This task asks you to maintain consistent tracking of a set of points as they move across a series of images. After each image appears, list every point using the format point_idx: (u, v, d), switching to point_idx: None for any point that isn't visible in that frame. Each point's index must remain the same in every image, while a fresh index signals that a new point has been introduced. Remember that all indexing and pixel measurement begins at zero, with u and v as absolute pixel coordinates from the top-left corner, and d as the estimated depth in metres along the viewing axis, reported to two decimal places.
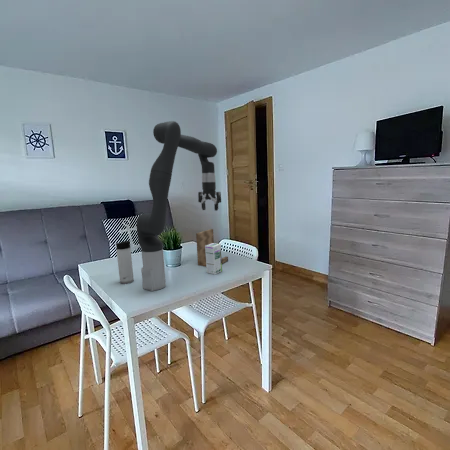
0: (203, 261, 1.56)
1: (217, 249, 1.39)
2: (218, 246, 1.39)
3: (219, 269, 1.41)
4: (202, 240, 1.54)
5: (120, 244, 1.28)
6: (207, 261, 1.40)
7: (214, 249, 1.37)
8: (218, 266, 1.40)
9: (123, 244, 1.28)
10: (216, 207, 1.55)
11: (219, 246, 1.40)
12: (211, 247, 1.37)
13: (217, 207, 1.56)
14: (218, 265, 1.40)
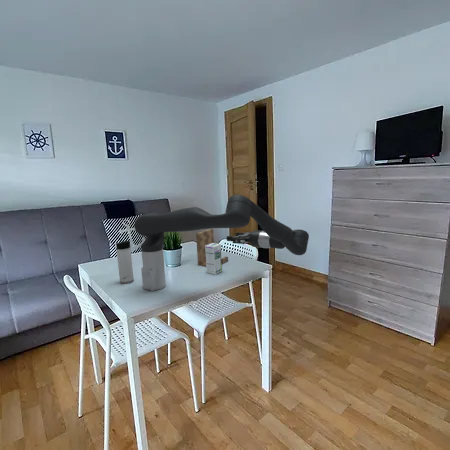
0: (203, 261, 1.56)
1: (217, 249, 1.39)
2: (218, 246, 1.39)
3: (219, 269, 1.41)
4: (202, 240, 1.54)
5: (120, 244, 1.28)
6: (207, 261, 1.40)
7: (214, 249, 1.37)
8: (218, 266, 1.40)
9: (123, 244, 1.28)
10: (229, 237, 1.28)
11: (219, 246, 1.40)
12: (211, 247, 1.37)
13: (229, 239, 1.28)
14: (218, 265, 1.40)
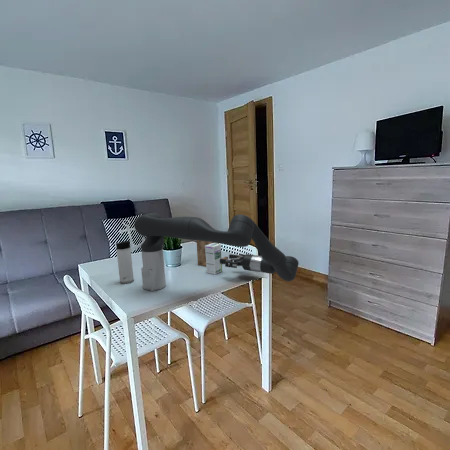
0: (203, 261, 1.56)
1: (217, 249, 1.39)
2: (218, 246, 1.39)
3: (219, 269, 1.41)
4: None
5: (120, 244, 1.28)
6: (207, 261, 1.40)
7: (214, 249, 1.37)
8: (218, 266, 1.40)
9: (123, 244, 1.28)
10: (222, 260, 1.32)
11: (219, 246, 1.40)
12: (211, 247, 1.37)
13: (222, 262, 1.32)
14: (218, 265, 1.40)
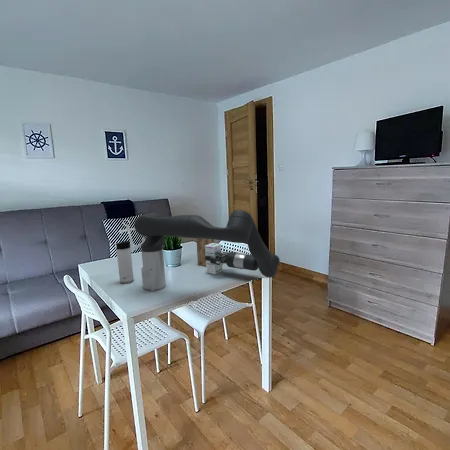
0: (203, 261, 1.56)
1: (217, 249, 1.39)
2: (218, 246, 1.39)
3: (219, 268, 1.41)
4: (202, 240, 1.54)
5: (120, 244, 1.28)
6: (207, 261, 1.40)
7: (214, 249, 1.37)
8: (218, 266, 1.40)
9: (123, 244, 1.28)
10: (207, 257, 1.38)
11: (219, 246, 1.40)
12: (211, 247, 1.37)
13: (207, 259, 1.38)
14: (218, 265, 1.40)
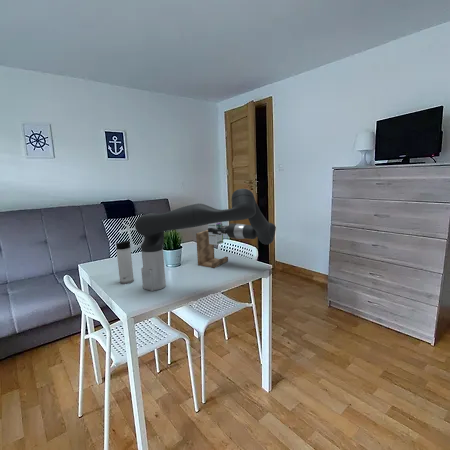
0: (203, 261, 1.56)
1: (218, 222, 1.50)
2: None
3: (220, 240, 1.52)
4: (202, 240, 1.54)
5: (120, 244, 1.28)
6: (209, 233, 1.52)
7: None
8: (220, 238, 1.52)
9: (123, 244, 1.28)
10: (210, 229, 1.49)
11: None
12: None
13: (209, 230, 1.50)
14: (219, 236, 1.51)
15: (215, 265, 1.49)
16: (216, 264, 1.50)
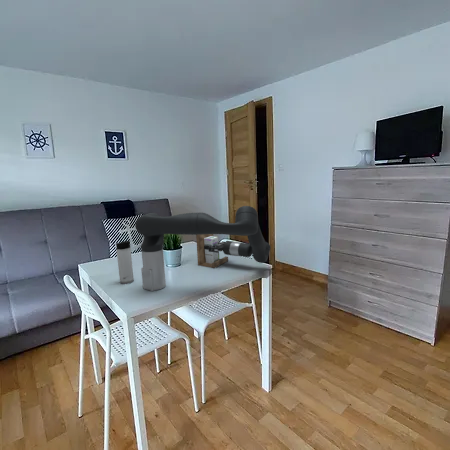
0: (203, 261, 1.56)
1: (215, 241, 1.53)
2: (216, 238, 1.54)
3: (217, 259, 1.55)
4: (202, 240, 1.54)
5: (120, 244, 1.28)
6: (206, 252, 1.55)
7: (212, 241, 1.52)
8: (216, 257, 1.55)
9: (123, 244, 1.28)
10: (206, 246, 1.52)
11: (217, 238, 1.55)
12: (209, 239, 1.52)
13: (206, 248, 1.52)
14: (216, 256, 1.55)
15: (215, 265, 1.49)
16: (216, 264, 1.50)
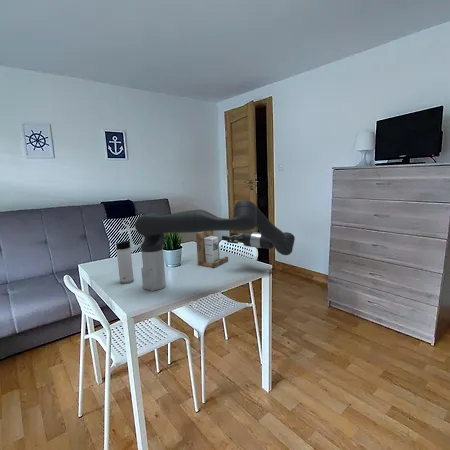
0: (203, 261, 1.56)
1: (215, 241, 1.53)
2: (216, 238, 1.54)
3: (217, 259, 1.55)
4: (202, 240, 1.54)
5: (120, 244, 1.28)
6: (206, 252, 1.55)
7: (212, 241, 1.52)
8: (216, 257, 1.55)
9: (123, 244, 1.28)
10: (224, 237, 1.43)
11: (217, 238, 1.55)
12: (210, 239, 1.52)
13: (224, 238, 1.43)
14: (216, 256, 1.55)
15: (215, 265, 1.49)
16: (216, 264, 1.50)
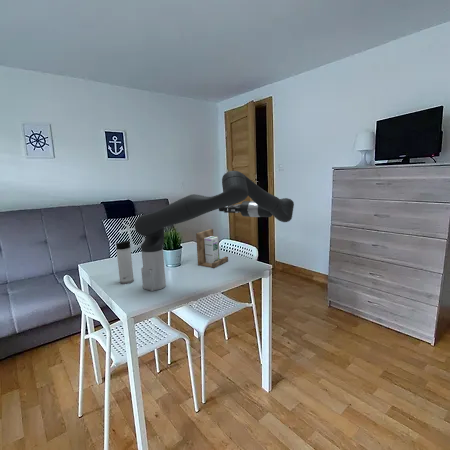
0: (203, 261, 1.56)
1: (215, 241, 1.53)
2: (216, 238, 1.54)
3: (217, 259, 1.55)
4: (202, 240, 1.54)
5: (120, 244, 1.28)
6: (206, 252, 1.55)
7: (212, 241, 1.52)
8: (216, 257, 1.55)
9: (123, 244, 1.28)
10: (221, 207, 1.37)
11: (217, 238, 1.55)
12: (210, 239, 1.52)
13: (221, 209, 1.37)
14: (216, 256, 1.55)
15: (215, 265, 1.49)
16: (216, 264, 1.50)
